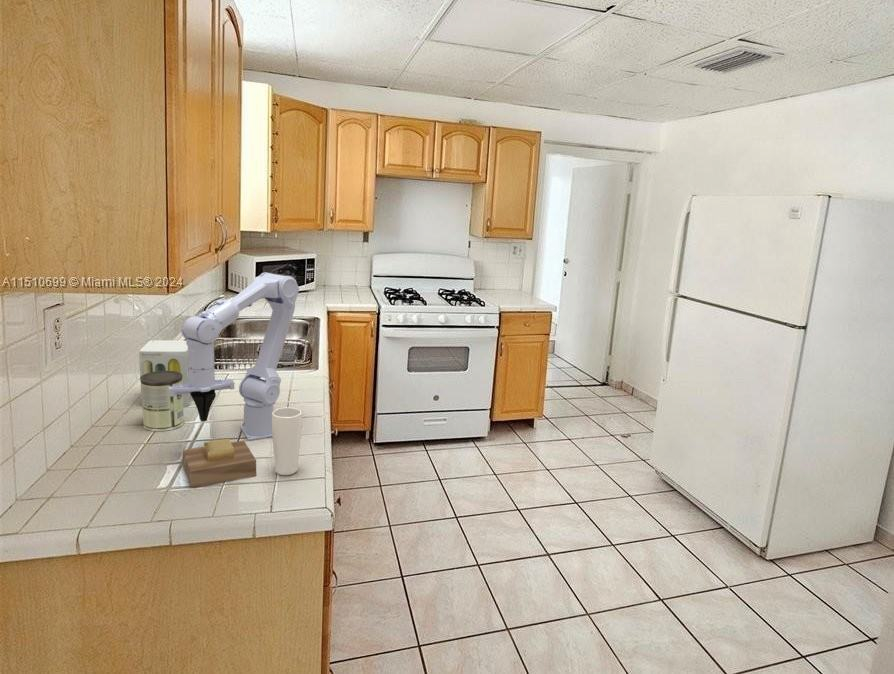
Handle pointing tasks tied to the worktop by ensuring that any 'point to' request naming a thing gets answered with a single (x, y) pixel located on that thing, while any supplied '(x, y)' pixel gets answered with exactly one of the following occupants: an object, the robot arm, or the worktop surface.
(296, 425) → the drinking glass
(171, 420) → the coffee can
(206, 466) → the brown wooden block
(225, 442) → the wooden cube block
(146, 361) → the supplement box
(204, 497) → the worktop surface
